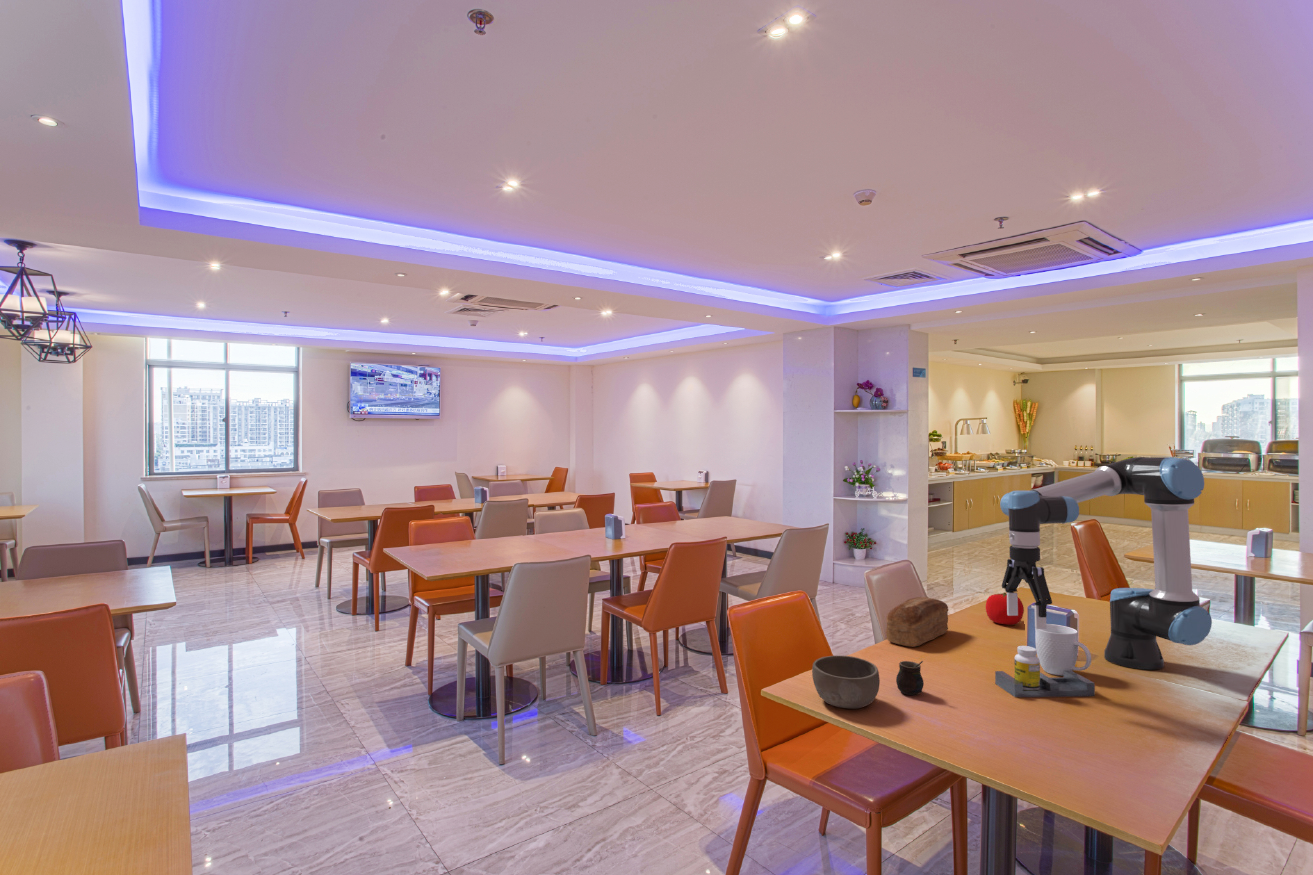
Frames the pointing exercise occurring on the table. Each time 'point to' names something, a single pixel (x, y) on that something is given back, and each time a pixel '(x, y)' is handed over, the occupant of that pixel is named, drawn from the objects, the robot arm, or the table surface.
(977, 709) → the table surface
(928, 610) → the bread
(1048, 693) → the gray divided tray
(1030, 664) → the pill bottle
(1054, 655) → the mug
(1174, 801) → the table surface
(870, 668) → the bowl
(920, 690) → the mate gourd
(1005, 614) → the tomato
